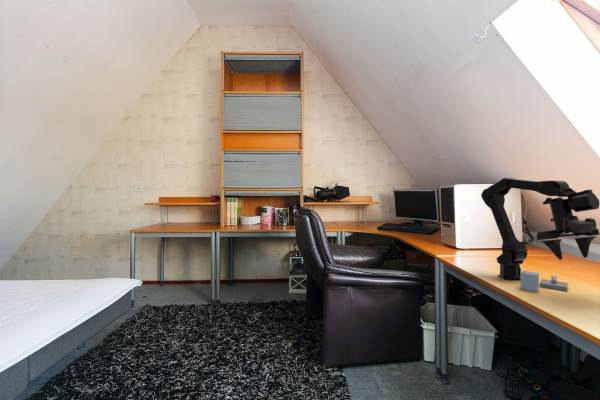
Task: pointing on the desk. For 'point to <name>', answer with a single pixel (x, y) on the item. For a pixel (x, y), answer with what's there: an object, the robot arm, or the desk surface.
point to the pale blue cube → (530, 281)
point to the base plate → (554, 284)
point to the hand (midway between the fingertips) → (573, 258)
